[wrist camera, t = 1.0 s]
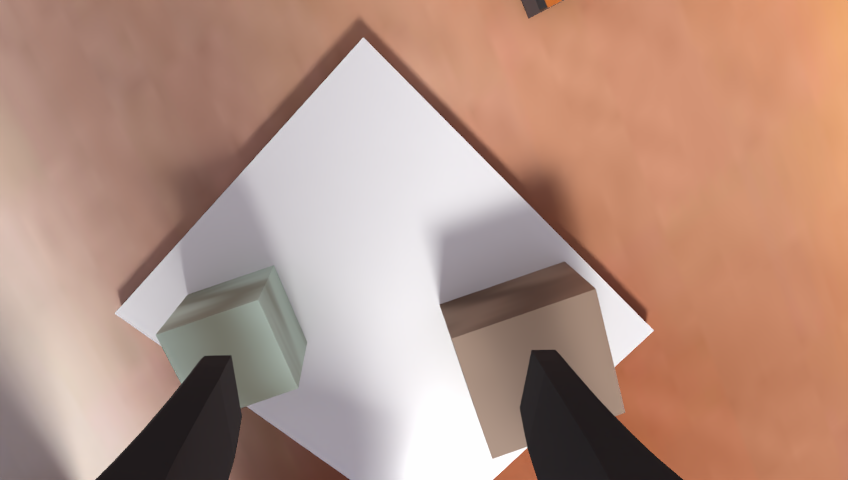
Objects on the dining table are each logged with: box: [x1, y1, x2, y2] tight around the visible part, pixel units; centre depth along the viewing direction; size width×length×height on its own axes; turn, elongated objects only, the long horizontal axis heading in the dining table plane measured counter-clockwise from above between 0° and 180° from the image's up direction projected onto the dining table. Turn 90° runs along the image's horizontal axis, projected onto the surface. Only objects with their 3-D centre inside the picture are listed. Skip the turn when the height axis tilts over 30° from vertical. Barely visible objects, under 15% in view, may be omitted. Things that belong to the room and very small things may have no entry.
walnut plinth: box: [439, 261, 625, 459], centre depth 28 cm, size 7×7×4 cm
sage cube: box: [156, 265, 307, 408], centre depth 26 cm, size 4×4×4 cm
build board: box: [115, 37, 654, 480], centre depth 29 cm, size 18×22×1 cm
